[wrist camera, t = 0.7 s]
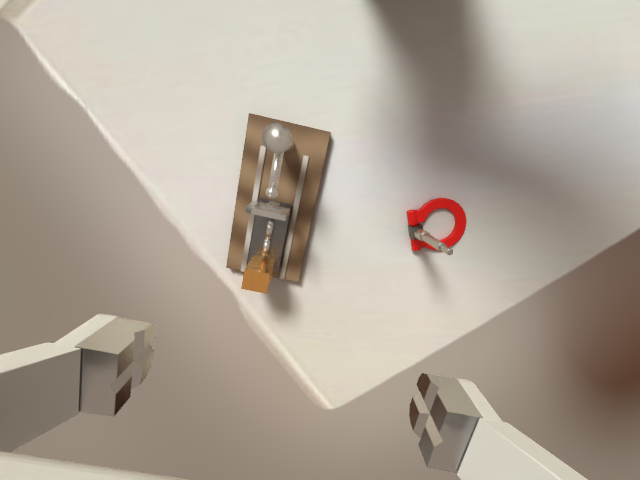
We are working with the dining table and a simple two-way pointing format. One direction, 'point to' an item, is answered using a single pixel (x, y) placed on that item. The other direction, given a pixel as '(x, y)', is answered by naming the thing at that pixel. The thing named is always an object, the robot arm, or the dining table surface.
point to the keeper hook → (276, 152)
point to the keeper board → (293, 188)
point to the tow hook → (424, 238)
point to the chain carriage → (265, 242)
